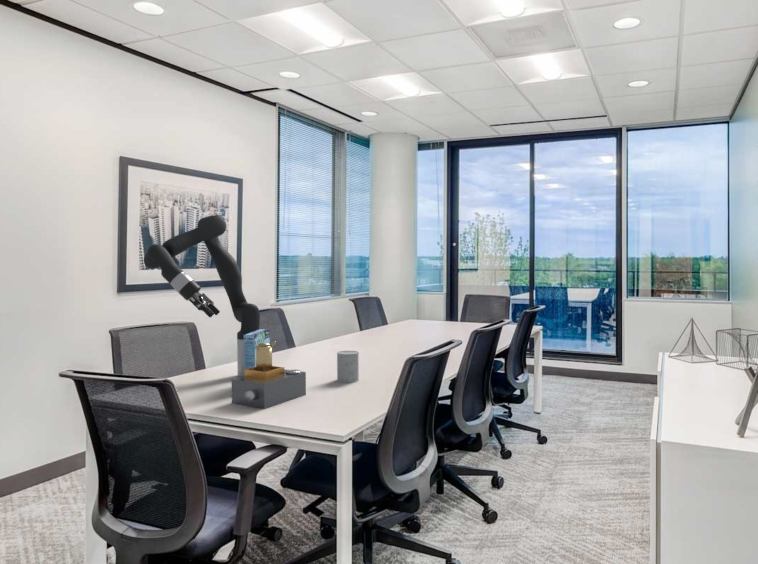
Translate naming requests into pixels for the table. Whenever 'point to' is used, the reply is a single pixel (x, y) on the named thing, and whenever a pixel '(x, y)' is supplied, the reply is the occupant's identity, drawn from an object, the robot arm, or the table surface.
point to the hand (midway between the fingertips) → (215, 314)
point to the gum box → (253, 346)
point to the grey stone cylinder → (347, 366)
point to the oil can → (264, 356)
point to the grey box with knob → (268, 387)
